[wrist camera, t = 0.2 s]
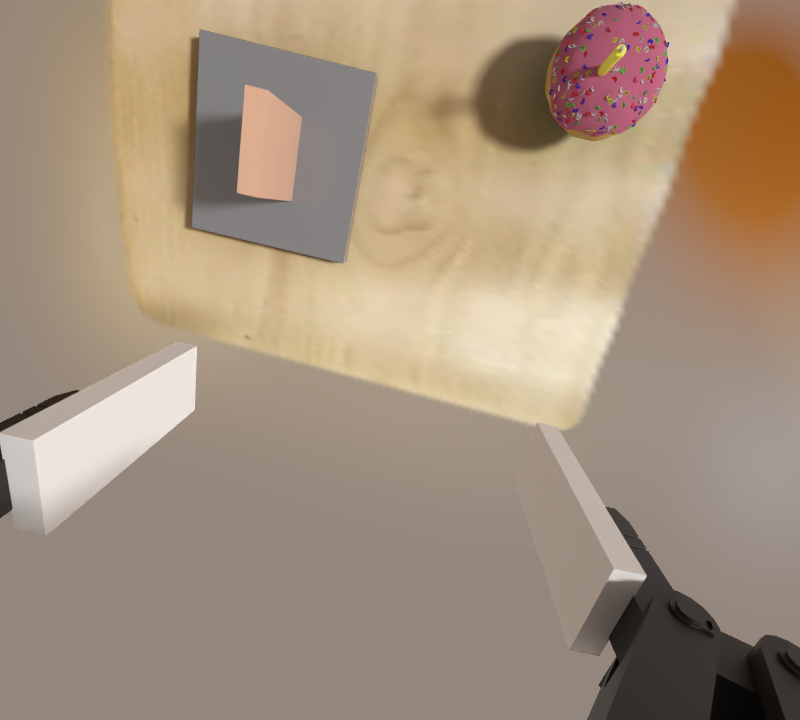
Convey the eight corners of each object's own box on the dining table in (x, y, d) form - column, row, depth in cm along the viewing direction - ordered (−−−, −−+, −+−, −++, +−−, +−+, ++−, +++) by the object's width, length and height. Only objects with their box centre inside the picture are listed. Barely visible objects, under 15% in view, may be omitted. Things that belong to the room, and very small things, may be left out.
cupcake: (543, 162, 36) (596, 139, 25) (521, 57, 34) (569, -23, 22) (642, 126, 35) (745, 84, 24) (627, 13, 32) (735, -95, 21)
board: (208, 36, 34) (199, 29, 33) (378, 78, 35) (376, 73, 33) (200, 226, 40) (191, 227, 39) (346, 261, 40) (343, 263, 39)
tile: (282, 112, 35) (242, 83, 27) (302, 117, 35) (267, 90, 27) (273, 196, 37) (234, 192, 30) (291, 201, 37) (257, 197, 30)
